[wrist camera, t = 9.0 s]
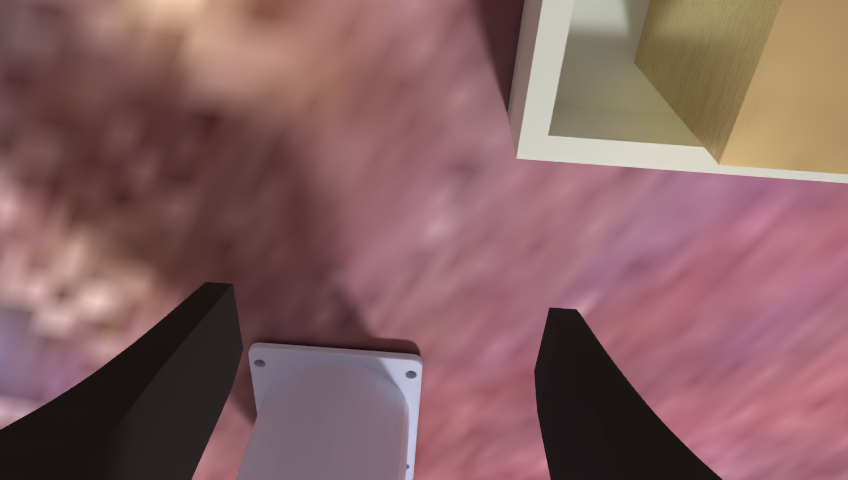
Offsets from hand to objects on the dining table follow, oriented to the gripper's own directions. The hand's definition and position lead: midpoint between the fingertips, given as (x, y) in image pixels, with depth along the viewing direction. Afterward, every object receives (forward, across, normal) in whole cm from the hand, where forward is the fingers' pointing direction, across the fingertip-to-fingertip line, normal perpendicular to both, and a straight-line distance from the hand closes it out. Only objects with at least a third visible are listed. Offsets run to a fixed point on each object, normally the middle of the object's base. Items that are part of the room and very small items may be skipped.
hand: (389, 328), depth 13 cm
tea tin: (+8, -9, -6) cm, 14 cm away
